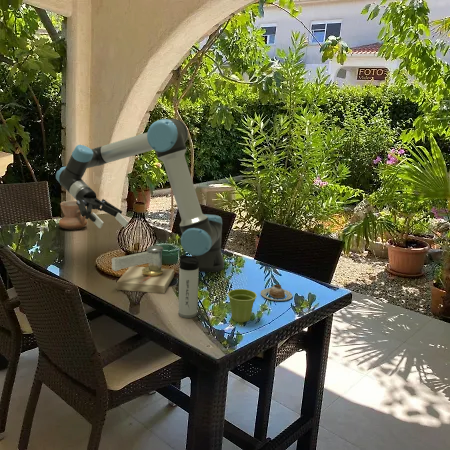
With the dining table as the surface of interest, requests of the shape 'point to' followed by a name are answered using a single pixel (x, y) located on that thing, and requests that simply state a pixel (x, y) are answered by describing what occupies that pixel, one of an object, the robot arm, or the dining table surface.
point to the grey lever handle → (142, 261)
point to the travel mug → (188, 286)
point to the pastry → (276, 293)
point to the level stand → (145, 281)
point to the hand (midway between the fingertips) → (114, 225)
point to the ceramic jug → (72, 216)
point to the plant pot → (241, 304)
